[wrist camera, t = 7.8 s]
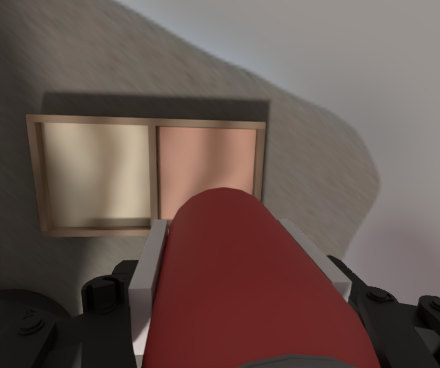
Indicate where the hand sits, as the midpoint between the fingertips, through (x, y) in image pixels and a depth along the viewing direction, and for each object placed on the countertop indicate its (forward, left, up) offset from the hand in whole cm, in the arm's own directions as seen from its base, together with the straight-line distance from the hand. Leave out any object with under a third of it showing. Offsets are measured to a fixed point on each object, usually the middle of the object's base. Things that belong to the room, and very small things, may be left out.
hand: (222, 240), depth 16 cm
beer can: (0, 0, -1) cm, 1 cm away
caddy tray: (-6, 0, -19) cm, 20 cm away
